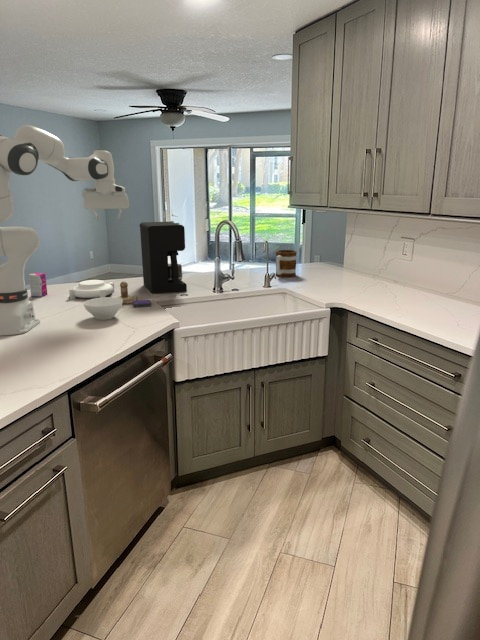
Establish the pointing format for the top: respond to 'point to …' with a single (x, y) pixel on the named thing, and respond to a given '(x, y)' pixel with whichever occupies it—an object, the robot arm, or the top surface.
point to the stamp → (124, 291)
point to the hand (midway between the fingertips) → (108, 218)
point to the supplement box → (38, 284)
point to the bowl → (103, 307)
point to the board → (129, 301)
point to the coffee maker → (162, 256)
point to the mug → (286, 263)
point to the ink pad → (142, 303)
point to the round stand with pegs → (91, 289)
